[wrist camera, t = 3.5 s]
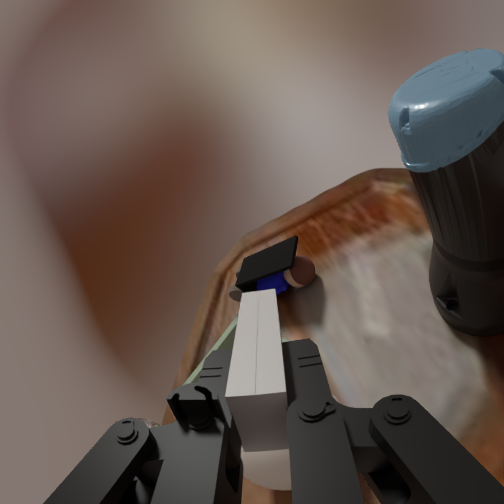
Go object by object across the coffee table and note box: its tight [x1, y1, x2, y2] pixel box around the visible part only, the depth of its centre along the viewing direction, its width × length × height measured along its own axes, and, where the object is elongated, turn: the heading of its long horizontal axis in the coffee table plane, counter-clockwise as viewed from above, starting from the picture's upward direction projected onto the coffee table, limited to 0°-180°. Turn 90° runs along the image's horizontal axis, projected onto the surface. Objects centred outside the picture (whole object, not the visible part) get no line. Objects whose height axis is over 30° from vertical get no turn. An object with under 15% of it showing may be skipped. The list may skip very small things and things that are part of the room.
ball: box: [241, 393, 341, 490], centre depth 21 cm, size 12×12×12 cm
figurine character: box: [229, 235, 315, 302], centre depth 45 cm, size 7×8×15 cm
